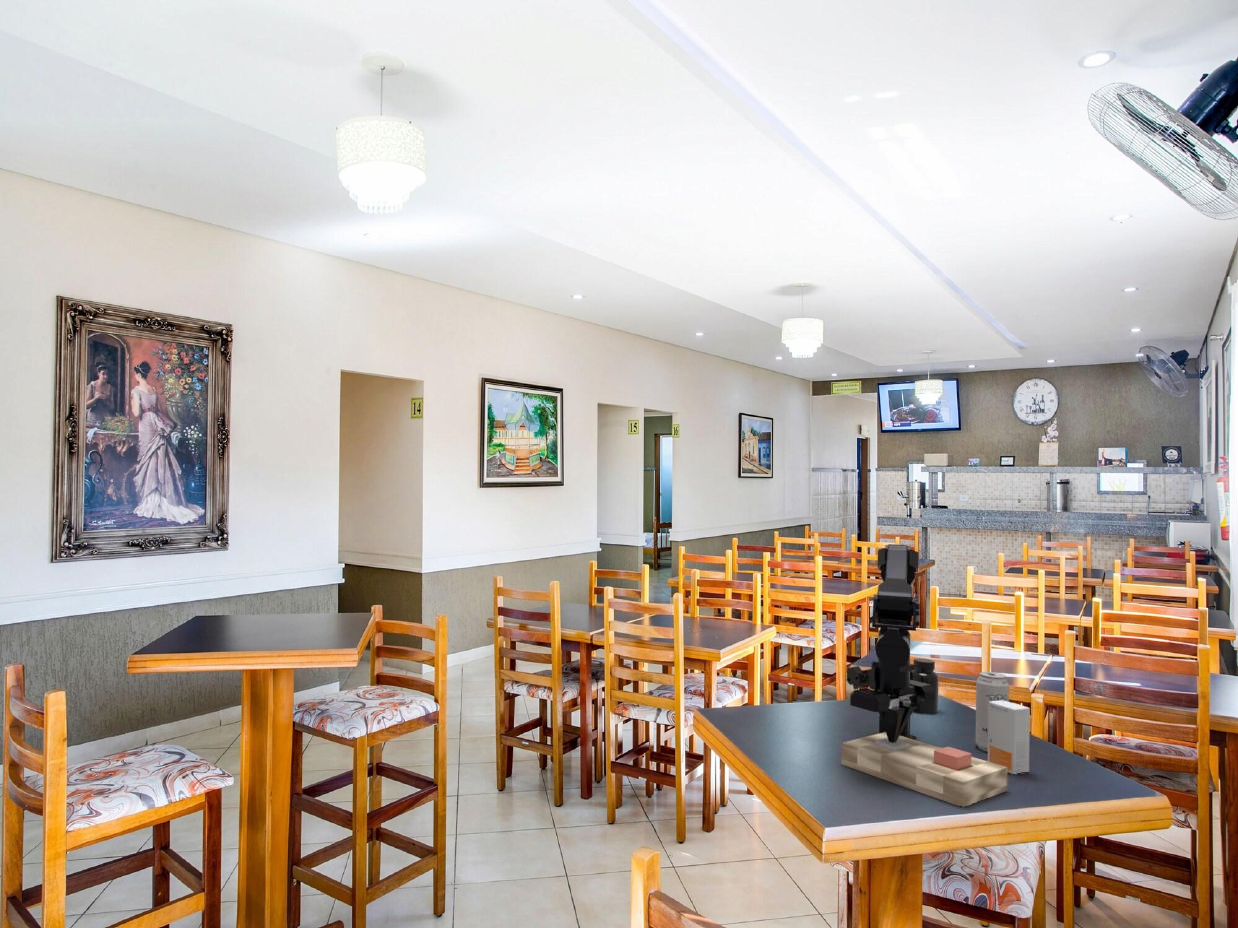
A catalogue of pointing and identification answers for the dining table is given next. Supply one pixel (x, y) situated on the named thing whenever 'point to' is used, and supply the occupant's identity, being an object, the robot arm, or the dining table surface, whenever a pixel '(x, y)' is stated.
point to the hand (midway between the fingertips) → (892, 742)
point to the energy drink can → (986, 691)
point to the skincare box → (1009, 735)
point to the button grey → (892, 744)
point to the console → (925, 770)
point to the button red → (952, 758)
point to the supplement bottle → (928, 676)
